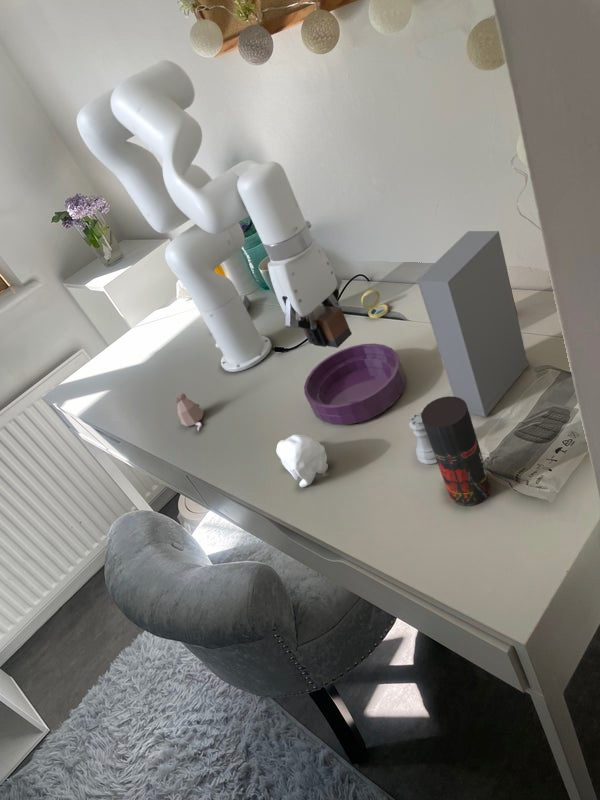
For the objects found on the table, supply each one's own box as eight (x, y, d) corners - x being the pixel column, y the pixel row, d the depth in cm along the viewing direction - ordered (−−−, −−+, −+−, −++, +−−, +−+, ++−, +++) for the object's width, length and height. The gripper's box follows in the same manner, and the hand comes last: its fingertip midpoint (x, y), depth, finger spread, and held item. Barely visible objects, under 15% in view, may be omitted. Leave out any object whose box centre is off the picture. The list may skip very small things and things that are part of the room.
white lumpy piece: (287, 457, 94) (254, 435, 104) (310, 496, 98) (276, 471, 108) (319, 432, 96) (282, 413, 106) (340, 472, 100) (303, 449, 110)
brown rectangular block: (309, 343, 109) (297, 317, 106) (323, 330, 111) (312, 304, 108) (337, 347, 104) (326, 321, 101) (351, 334, 106) (340, 307, 103)
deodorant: (443, 483, 90) (416, 406, 82) (482, 469, 89) (459, 390, 81) (456, 511, 85) (428, 433, 77) (497, 497, 84) (473, 416, 76)
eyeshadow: (374, 320, 133) (367, 301, 131) (364, 313, 138) (357, 294, 135) (391, 310, 134) (385, 291, 131) (381, 303, 138) (374, 285, 135)
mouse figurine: (188, 437, 126) (172, 413, 122) (180, 419, 132) (165, 396, 129) (210, 425, 126) (195, 400, 123) (201, 407, 133) (187, 384, 129)
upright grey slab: (496, 359, 107) (464, 230, 93) (529, 365, 103) (500, 230, 89) (453, 410, 101) (411, 280, 88) (486, 418, 97) (447, 283, 83)
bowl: (295, 416, 117) (285, 396, 114) (351, 358, 125) (343, 338, 123) (368, 437, 104) (358, 415, 101) (425, 371, 112) (418, 349, 110)
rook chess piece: (440, 467, 92) (426, 429, 88) (413, 464, 95) (398, 426, 91) (450, 446, 95) (437, 408, 91) (423, 444, 98) (410, 406, 93)
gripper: (305, 218, 104) (342, 308, 114) (238, 271, 96) (284, 363, 106) (337, 216, 98) (373, 311, 108) (269, 272, 91) (314, 369, 101)
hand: (329, 336), depth 107 cm, fingers closed on brown rectangular block, 4 cm apart
